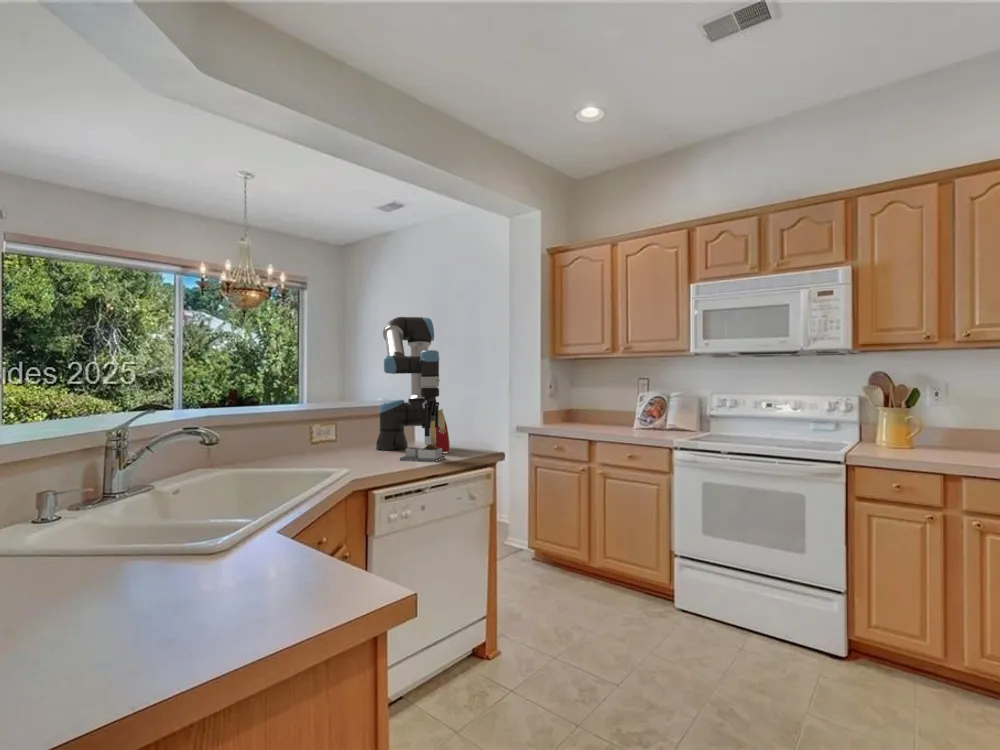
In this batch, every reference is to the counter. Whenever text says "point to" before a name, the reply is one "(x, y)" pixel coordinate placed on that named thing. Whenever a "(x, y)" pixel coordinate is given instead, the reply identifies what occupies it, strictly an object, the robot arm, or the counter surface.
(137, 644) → the counter surface
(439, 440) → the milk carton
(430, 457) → the manifold plate
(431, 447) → the brass valve
